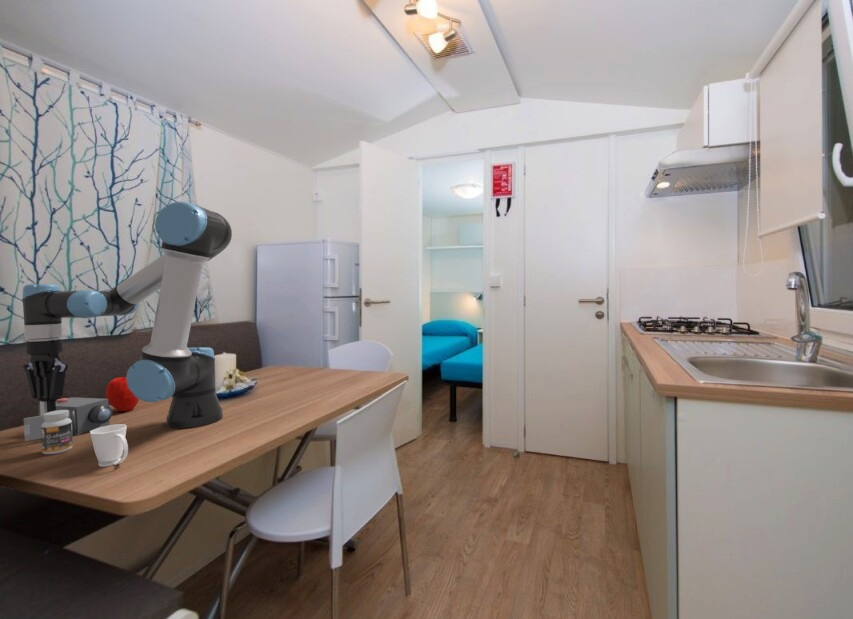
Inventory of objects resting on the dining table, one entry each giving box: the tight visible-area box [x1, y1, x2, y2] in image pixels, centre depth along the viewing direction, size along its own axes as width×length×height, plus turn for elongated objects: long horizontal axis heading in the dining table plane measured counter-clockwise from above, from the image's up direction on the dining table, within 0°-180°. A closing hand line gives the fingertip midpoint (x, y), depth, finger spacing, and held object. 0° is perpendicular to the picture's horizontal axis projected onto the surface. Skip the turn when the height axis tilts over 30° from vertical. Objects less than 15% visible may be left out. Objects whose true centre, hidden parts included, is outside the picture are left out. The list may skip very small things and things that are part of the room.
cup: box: [89, 423, 129, 467], centre depth 91 cm, size 7×10×8 cm
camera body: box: [38, 396, 113, 436], centre depth 117 cm, size 17×9×9 cm, turn 78°
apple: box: [105, 375, 140, 412], centre depth 135 cm, size 10×10×12 cm
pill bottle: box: [41, 410, 74, 455], centre depth 100 cm, size 6×6×10 cm
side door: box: [23, 410, 76, 442], centre depth 108 cm, size 10×2×6 cm, turn 128°
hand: (48, 423), depth 110 cm, fingers closed
